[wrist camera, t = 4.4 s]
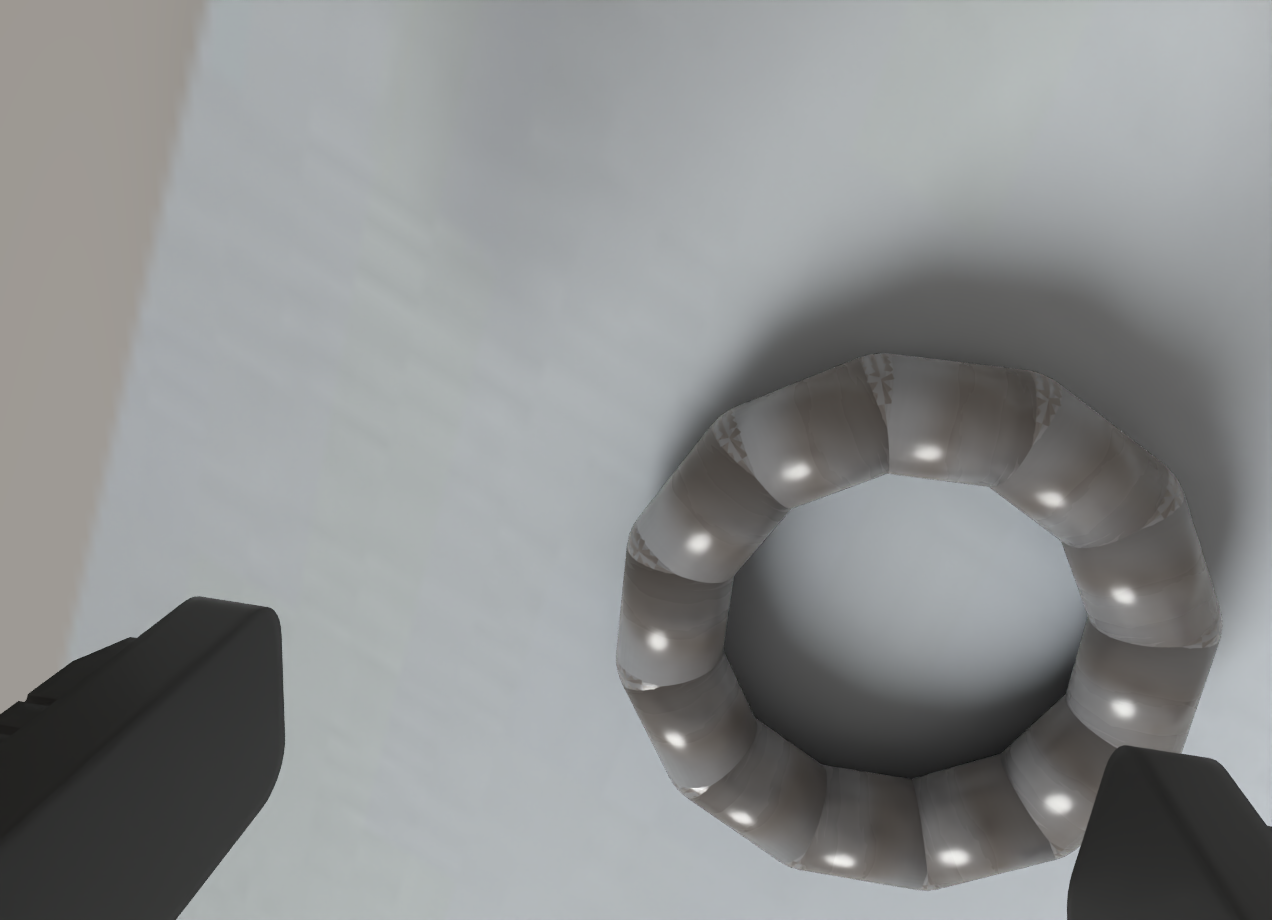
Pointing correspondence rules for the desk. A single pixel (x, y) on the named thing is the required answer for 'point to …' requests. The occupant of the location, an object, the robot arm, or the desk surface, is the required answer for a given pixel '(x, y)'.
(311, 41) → the desk surface
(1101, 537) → the grey beaded ring
